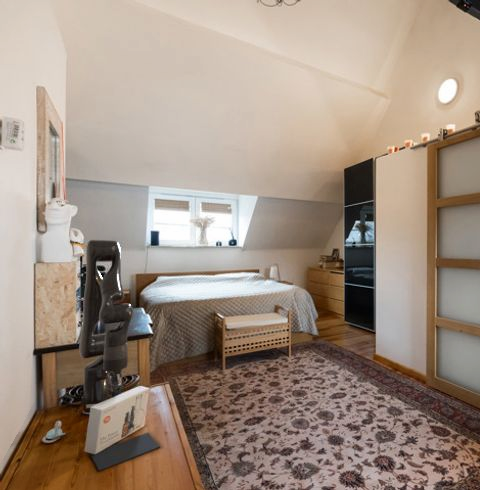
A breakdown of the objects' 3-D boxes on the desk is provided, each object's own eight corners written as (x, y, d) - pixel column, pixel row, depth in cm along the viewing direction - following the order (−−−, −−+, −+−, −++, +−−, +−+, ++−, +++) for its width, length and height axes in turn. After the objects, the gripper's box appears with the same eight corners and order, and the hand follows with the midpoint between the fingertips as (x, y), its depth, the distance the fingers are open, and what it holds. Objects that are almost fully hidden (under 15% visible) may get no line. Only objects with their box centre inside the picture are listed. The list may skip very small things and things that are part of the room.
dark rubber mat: (89, 454, 122) (89, 453, 122) (147, 433, 136) (147, 432, 136) (99, 471, 114) (99, 470, 114) (160, 447, 127) (160, 446, 127)
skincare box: (96, 455, 121) (100, 409, 121) (83, 452, 122) (88, 406, 122) (146, 426, 141) (150, 387, 142) (135, 423, 143) (138, 384, 143)
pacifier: (46, 446, 126) (67, 438, 131) (45, 429, 126) (66, 422, 131) (39, 439, 130) (60, 432, 135) (39, 423, 130) (59, 416, 135)
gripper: (132, 357, 132) (131, 403, 133) (122, 350, 141) (121, 392, 141) (108, 362, 127) (107, 410, 127) (99, 354, 135) (98, 398, 136)
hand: (115, 400), depth 134 cm, fingers closed
